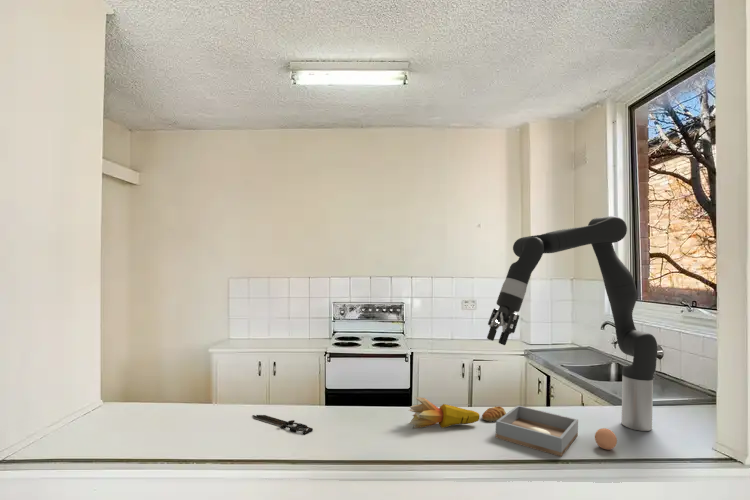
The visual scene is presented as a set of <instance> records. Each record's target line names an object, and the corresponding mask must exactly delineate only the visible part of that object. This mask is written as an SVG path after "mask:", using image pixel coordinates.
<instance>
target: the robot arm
mask: <svg viewBox="0 0 750 500" xmlns="http://www.w3.org/2000/svg"><path fill="white" fill-rule="evenodd" d="M627 233H628V227H627V223H626V221H625V220H624V219H623V218H621V217H618V216H614V215H613V216H612V215H610V216H601V217H594V218H592V219H591V220H590V221H589V222H588V225H585V226H581V227H580V226H579V227H572V228H571V227H570V228H562V229H559V230H554V231H550V232H546V233H542V234H536V235H529V236H523V237H520V238H518V239H516V240H515V241H514V243H513V246H512V250H513V253H514V254H515V256H516V257H518V260H516V261H515V262H512V263H511V264H510V266H509V268H508V270H507V273H506V274H507V275H506V277H505V279H504V281H503V283H502V286H501V289H500V292H499V294H498V297H497V300H496V306H498V309H497V308H493V310H492V311H491V315H490V317H489V320H488V321H487V322H488V323H487V326H489V331H488V333H487V336H486V339H487V340H490V341H494V340H495V337H496V334H497V332H498V330H499V328H500V327H502V328H501V330H502V331H501V334H500V336H499V339H498V344H499V345H503V346H506V344H507V342H508V339H509V336H510V335H511V334H515V332H516V328H517V326H518V323H519V322H518V321H519V319H520V314H517V313H519V312H520V310H521V307H522V304H523V302H524V299H525V297H526V296H525V295H526V293H527V288H528V285H529V283H530V282H529V281H530V278H531V275H532V273H533V271H535V269H536V267H537V265H538V263H539V262H540V261H541V260H542V257H543V254H555V253H559V252H563V251H568V250H572V249H574V248H578V247H579V248H580V247H583V246H587V245H590V246H592V249H593V251H594V254H595V257H596V260H597V263H598V266H599V270H600V272H601V277H602V280H603V284H604V289H605V291H606V297H607V298H608V301H609V305H610V310H611V313H612V318H613V322H614V329H615V335H616V342H617V345H618V348H619V350H620V351H621V353H623V354H625V355H626V356H629V357H633V359H632V364H630V365H625V366H623V367H622V376H621V377H622V378H621V379H622V381H621V385H622V388H621V425H622V426H624V427H626V428H628V429H630V430H635V431H642V432H648V431H652V430H653V403H654V402H653V401H654V399H653V398H654V393H653V392H654V385H653V384H654V374H655V372H656V369H657V360H658V359H657V357H658V343H657V342H658V341H657V339H656V337H655V336H654V335H653V334H651V333H648V332H644V331H640V330H637V328H636V326H635V323H634V319H633V318H634V317H633V313H634V312H633V311H634V308H635V306H636V303H637V299H638V291H637V287H636V283H635V280H634V276H633V275H632V272H631V271H630V270H629V269H628V267H627V266H626V265H625V264H624V262H623V261H622V260H621V259H620V258H619V257H618V255H617V253H616V251H615V249H614V245H613V244H615V243H618V242H620V241H622V240H623V239H624V238H625V237H626V234H627Z"/></svg>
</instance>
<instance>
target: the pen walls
mask: <svg viewBox="0 0 750 500" xmlns="http://www.w3.org/2000/svg"><path fill="white" fill-rule="evenodd" d="M518 418H522V419H526V420H530V421H534V422H538V423H542V424H546V425H550V426H553V427H557V428H561V429H565V430H566V431H565V432H564V433H563V434H562V435H561V436H560V437H557V436H554V435H550V434H546V433H542V432H538V431H535V430H531V429H527V428H523V427H520V426H516V425H512V423H513V422H514V421H516V420H517V419H518ZM577 432H578V433H579V419H577V418H572V417H569V416H564V415H560V414H557V413H551V412H548V411H544V410H539V409H535V408H531V407H526V406H522V405H519V404H518V405H515V406H514V407H513V408H512V409H511V410H509V411H508V412H506V414H505V415H504V416H502V417H501V418H500V419H498V420H497V421H495V435H496V434H498V435H502V436H505V437H509V438H512V439H516V440H519V441H523V442H526V443H530V444H533V445H537V446H540V447H544V448H547V449H551V450H554V451H558V452H561V453H562V451H563V450H564V449H565V447H566V446H567V445H568V444H569V442H570V441H571V440H572V439H573V437H574V436H575V435H576V434H577Z"/></svg>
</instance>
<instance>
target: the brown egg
mask: <svg viewBox="0 0 750 500" xmlns="http://www.w3.org/2000/svg"><path fill="white" fill-rule="evenodd" d="M617 439H618V438H617V435H616V434H615V433H614V432H613V431H612V430H611V429H610V428H605V427H603V428H599V429H598V430H596V432H595V433H594V440H595V443H596V444H597V446H598V447H600V449H604V450H613V449H614V448H615V447H616V446H617V443H618V440H617Z"/></svg>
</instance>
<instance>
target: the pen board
mask: <svg viewBox="0 0 750 500" xmlns="http://www.w3.org/2000/svg"><path fill="white" fill-rule="evenodd" d="M512 425H516V426H520V427H523V428H527V429H531V430H535V431H538V432H542V433H546V434H550V435H554V436H557V437H560V436H561V435H562V434H563V433H564V432H565V431H566V430H565V429H561V428H557V427H553V426H550V425H546V424H542V423H538V422H534V421H530V420H526V419H522V418H518V419H517V420H516V421H514V422H513V423H512ZM578 435H579V431H578V432H577V434H576V435H575V436H574V437H573V439H572V440H571V441H570V442H569V444H568V445H567V446H566V447H565V449H564V450H563V451H562V453H561V452H558V451H554V450H551V449H547V448H544V447H540V446H537V445H533V444H530V443H526V442H523V441H519V440H516V439H512V438H509V437H505V436H502V435H498V434H496V433H495V438H496V439H500V440H502V441H506V442H510V443H512V444H517V445H521V446H524V447H527V448H530V449H533V450H537V451H539V452H540V451H541V452H544V453H546V454H547V453H548V454H551V455H555V456H558V457H563V455H564V454H565V453H566V451H567V450H568V449H569V447H571V445H572V444H573V442H574V441H575V440H576V438H577V437H579V436H578Z"/></svg>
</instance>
